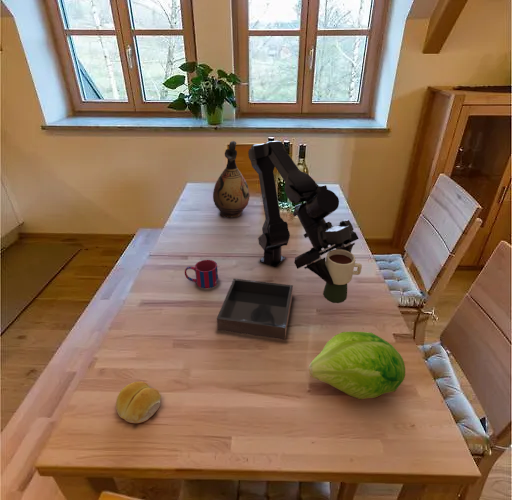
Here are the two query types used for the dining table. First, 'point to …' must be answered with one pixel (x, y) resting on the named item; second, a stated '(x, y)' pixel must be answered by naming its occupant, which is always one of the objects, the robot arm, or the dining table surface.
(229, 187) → the ceramic jug
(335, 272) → the coffee mug
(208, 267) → the cup
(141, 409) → the bread roll
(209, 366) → the dining table surface
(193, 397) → the dining table surface
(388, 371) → the lettuce
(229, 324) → the tray
